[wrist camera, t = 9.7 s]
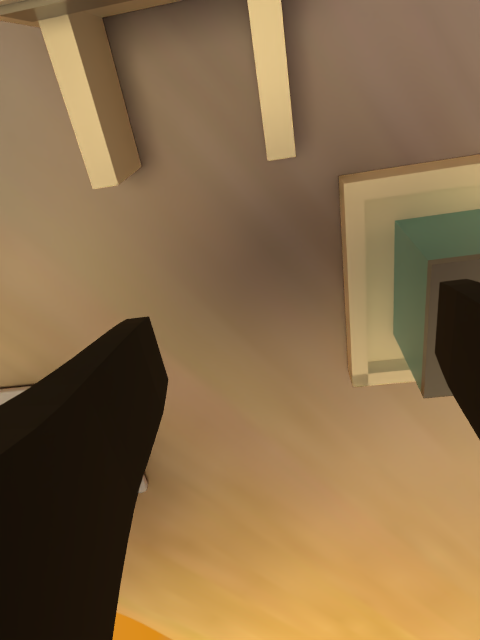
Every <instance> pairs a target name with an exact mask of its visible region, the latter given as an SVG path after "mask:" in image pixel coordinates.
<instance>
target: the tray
mask: <svg viewBox="0 0 480 640" xmlns="http://www.w3.org/2000/svg"><path fill="white" fill-rule="evenodd" d="M339 196H340V217H341V237H342V257H343V277H344V297H345V317H346V337H347V357H348V372H349V375H350V379H351V383H352V386H353V387H362V386H373V385H384V384H394V383H405V382H416V381H415V379H414V377H413V375H412V373H411V370H410V368H409V366H408V364H407V362H406V360H405V358H404V356H403V354H402V351H401V349H400V347H399V345H398V343H397V341H396V339H395V337H394V335H393V314H394V238H395V221H396V220H403V219H410V218H418V217H425V216H432V215H439V214H446V213H454V212H461V211H468V210H475V209H480V154H478V155H471V156H465V157H458V158H452V159H445V160H438V161H432V162H425V163H419V164H412V165H406V166H399V167H393V168H386V169H380V170H373V171H367V172H360V173H354V174H347V175H341V176H339Z"/></svg>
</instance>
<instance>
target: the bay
mask: <svg viewBox="0 0 480 640" xmlns="http://www.w3.org/2000/svg"><path fill="white" fill-rule="evenodd" d="M178 1H183V0H0V21H5V22H10V23H16V24H22V25H28V26H33V27H39V28H41V31H42V34H43V37H44V40H45V43H46V46H47V49H48V52H49V55H50V59H51V62H52V65H53V68H54V71H55V74H56V77H57V80H58V83H59V86H60V89H61V92H62V95H63V98H64V102H65V105H66V108H67V111H68V114H69V117H70V120H71V123H72V126H73V129H74V132H75V135H76V138H77V141H78V145H79V148H80V151H81V154H82V157H83V160H84V163H85V166H86V169H87V172H88V175H89V178H90V181H91V184H92V188H93V189H98V188H104V187H110V186H116V185H119V184H120V183H122V182H123V181H124V180H125V179H127V178H128V177H129V176H130V175H132V174H133V173H134V172H135V171H137V170H138V169H139V168H140V167H142V166H141V162H140V159H139V155H138V151H137V147H136V144H135V140H134V136H133V132H132V128H131V125H130V121H129V117H128V113H127V110H126V106H125V102H124V98H123V94H122V91H121V87H120V83H119V79H118V75H117V72H116V68H115V64H114V60H113V57H112V53H111V49H110V45H109V41H108V38H107V34H106V30H105V26H104V23H103V19H102V18H103V17H108V16H112V15H117V14H122V13H126V12H131V11H136V10H140V9H145V8H150V7H155V6H159V5H164V4H169V3H173V2H178ZM247 1H248V9H249V17H250V25H251V33H252V41H253V49H254V57H255V65H256V73H257V81H258V88H259V96H260V104H261V112H262V120H263V128H264V136H265V144H266V152H267V160H268V161H272V160H278V159H284V158H290V157H296V154H295V143H294V133H293V122H292V112H291V101H290V91H289V80H288V70H287V59H286V49H285V38H284V28H283V17H282V6H281V0H247Z"/></svg>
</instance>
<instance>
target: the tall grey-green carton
mask: <svg viewBox="0 0 480 640" xmlns="http://www.w3.org/2000/svg"><path fill="white" fill-rule="evenodd" d="M460 279H470V280H474V281H477V282H480V209H475V210H468V211H461V212H454V213H446V214H439V215H432V216H425V217H418V218H410V219H403V220H396V221H395V238H394V314H393V335H394V337H395V339H396V341H397V343H398V345H399V347H400V349H401V351H402V354H403V356H404V358H405V360H406V362H407V364H408V366H409V368H410V370H411V373H412V375H413V377H414V379H415V381H416V383H417V385H418V387H419V389H420V391H421V394H422V396H423V398H433V397H444V396H453V394H452V392H451V391H450V389H449V387H448V385H447V383H446V380H445V378H444V375H443V373H442V371H441V368H440V366H439V363H438V360H437V358H436V355H435V340H436V326H437V312H438V298H439V284H440V282H443V281H451V280H460Z"/></svg>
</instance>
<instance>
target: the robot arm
mask: <svg viewBox="0 0 480 640" xmlns="http://www.w3.org/2000/svg"><path fill="white" fill-rule="evenodd" d="M435 355H436V358H437V360H438V363H439V366H440V368H441V371H442V373H443V375H444V378H445V380H446V383H447V385H448V387H449V389H450V391H451V392H452V394H453V396H454V397H455V399H456V401H457V403H458V404H459V406H460V408H461V409H462V411H463V413H464V414H465V416H466V418H467V419H468V421H469V423H470V424H471V426H472V428H473V429H474V431H475V433H476V434H477V436H478V438H479V439H480V282H477V281H474V280H470V279H460V280H451V281H443V282H440V284H439V298H438V312H437V326H436V340H435ZM167 385H168V377H167V374H166V370H165V367H164V364H163V361H162V357H161V354H160V351H159V348H158V344H157V341H156V338H155V334H154V331H153V328H152V325H151V321H150V318H149V317H141V318H133V319H126V320H124V321H123V322H121V323H119V324H118V325H116V326H115V327H113V328H112V329H111V330H109V331H108V332H106V333H105V334H104V335H102V336H101V337H100V338H98V339H97V340H96V341H95V342H93V343H92V344H91V345H89V346H88V347H87V348H85V349H84V350H83V351H81V352H80V353H79V354H77V355H76V356H75V357H73V358H72V359H71V360H69V361H68V362H66V363H65V364H63V365H62V366H61V367H59V368H58V369H56V370H55V371H53V372H52V373H51V374H49V375H48V376H46V377H45V378H43V379H42V380H41V381H39V382H38V383H36V384H35V385H33V386H27V387H17V388H8V389H0V640H112V637H113V631H114V624H115V617H116V610H117V604H118V597H119V590H120V583H121V578H122V572H123V566H124V560H125V555H126V549H127V543H128V538H129V533H130V528H131V523H132V518H133V513H134V508H135V503H136V500H137V496H138V493H142V492H145V491H146V490H147V487H148V483H147V481H146V478H145V476H144V472H145V469H146V466H147V463H148V460H149V457H150V453H151V450H152V447H153V444H154V441H155V438H156V434H157V431H158V428H159V425H160V421H161V418H162V415H163V410H164V405H165V399H166V392H167Z"/></svg>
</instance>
